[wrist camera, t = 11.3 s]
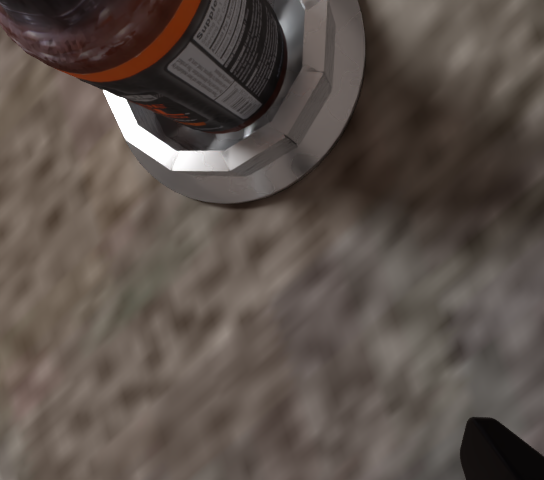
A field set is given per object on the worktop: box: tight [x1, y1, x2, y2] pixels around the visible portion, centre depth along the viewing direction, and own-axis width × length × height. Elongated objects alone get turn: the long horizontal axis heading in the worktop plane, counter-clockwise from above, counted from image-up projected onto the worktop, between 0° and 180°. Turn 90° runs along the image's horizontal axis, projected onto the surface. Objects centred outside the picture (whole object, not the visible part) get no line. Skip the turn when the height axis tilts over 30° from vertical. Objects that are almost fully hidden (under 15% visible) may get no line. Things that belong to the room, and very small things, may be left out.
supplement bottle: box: [0, 0, 288, 134], centre depth 12 cm, size 6×6×11 cm
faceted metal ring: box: [103, 0, 366, 204], centre depth 17 cm, size 12×12×2 cm
